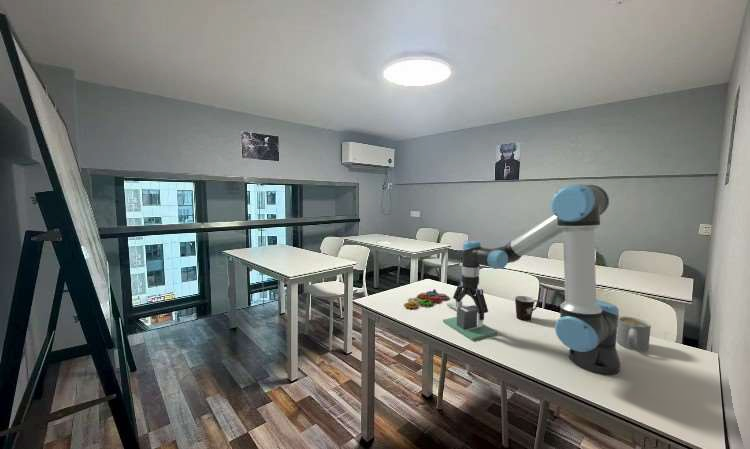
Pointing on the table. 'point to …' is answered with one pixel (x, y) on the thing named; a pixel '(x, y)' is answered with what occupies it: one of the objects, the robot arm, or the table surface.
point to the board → (471, 330)
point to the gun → (454, 305)
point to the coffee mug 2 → (633, 333)
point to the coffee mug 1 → (524, 307)
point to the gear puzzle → (426, 299)
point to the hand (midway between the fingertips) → (469, 320)
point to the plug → (467, 317)
